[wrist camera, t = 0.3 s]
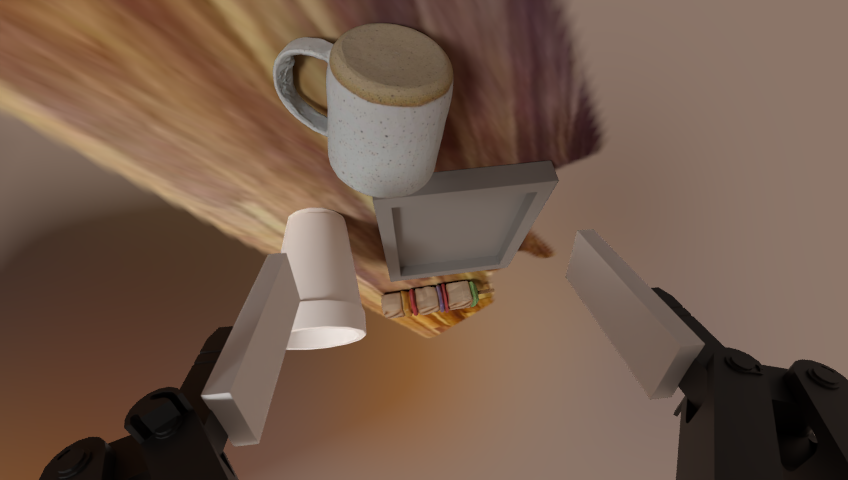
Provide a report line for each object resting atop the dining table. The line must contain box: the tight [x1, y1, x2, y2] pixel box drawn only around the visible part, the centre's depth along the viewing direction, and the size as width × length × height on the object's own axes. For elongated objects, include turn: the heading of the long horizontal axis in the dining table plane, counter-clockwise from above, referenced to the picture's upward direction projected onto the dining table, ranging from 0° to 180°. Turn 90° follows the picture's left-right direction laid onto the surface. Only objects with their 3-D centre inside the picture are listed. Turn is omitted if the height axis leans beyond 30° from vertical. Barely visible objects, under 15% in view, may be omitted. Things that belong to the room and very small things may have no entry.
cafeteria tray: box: [373, 161, 559, 282], centre depth 43 cm, size 22×18×2 cm
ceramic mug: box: [273, 23, 453, 198], centre depth 21 cm, size 11×8×8 cm
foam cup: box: [281, 208, 366, 350], centre depth 36 cm, size 10×9×13 cm
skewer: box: [381, 281, 494, 319], centre depth 64 cm, size 21×6×5 cm, turn 94°
